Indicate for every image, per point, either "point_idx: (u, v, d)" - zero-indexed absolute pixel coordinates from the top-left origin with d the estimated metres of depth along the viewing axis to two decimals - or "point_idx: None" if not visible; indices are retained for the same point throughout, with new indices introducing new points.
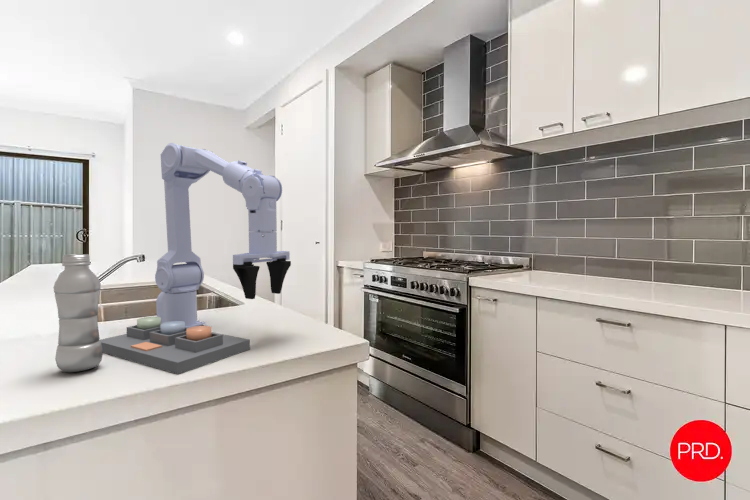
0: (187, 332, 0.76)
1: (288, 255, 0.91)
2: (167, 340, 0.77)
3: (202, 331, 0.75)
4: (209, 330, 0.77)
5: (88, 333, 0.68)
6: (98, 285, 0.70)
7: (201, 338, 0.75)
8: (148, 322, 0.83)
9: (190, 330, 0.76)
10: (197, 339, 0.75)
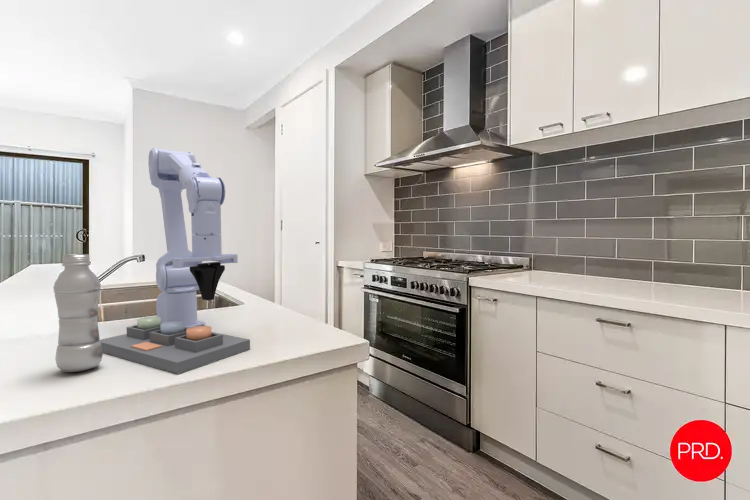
0: (187, 332, 0.76)
1: (236, 258, 0.90)
2: (167, 340, 0.77)
3: (202, 331, 0.75)
4: (209, 330, 0.77)
5: (88, 333, 0.68)
6: (98, 285, 0.70)
7: (201, 338, 0.75)
8: (148, 322, 0.83)
9: (190, 330, 0.76)
10: (197, 339, 0.75)
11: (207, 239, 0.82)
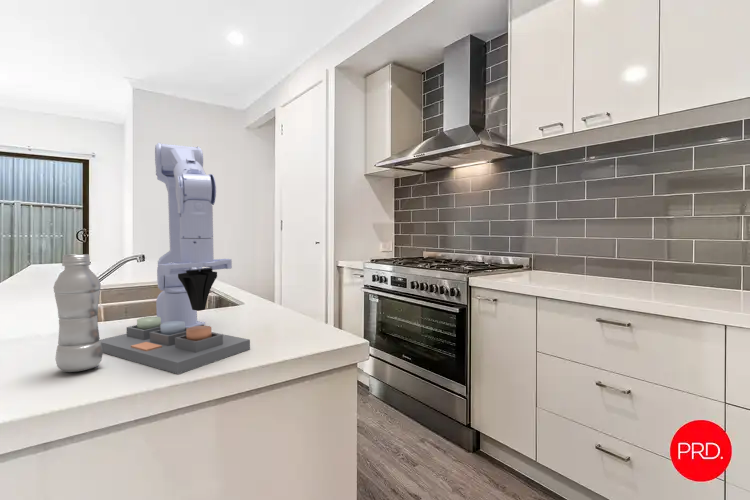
0: (187, 332, 0.76)
1: (230, 264, 0.82)
2: (167, 340, 0.77)
3: (202, 331, 0.75)
4: (209, 330, 0.77)
5: (88, 333, 0.68)
6: (98, 285, 0.70)
7: (201, 338, 0.75)
8: (148, 322, 0.83)
9: (190, 330, 0.76)
10: (197, 339, 0.75)
11: (197, 243, 0.74)
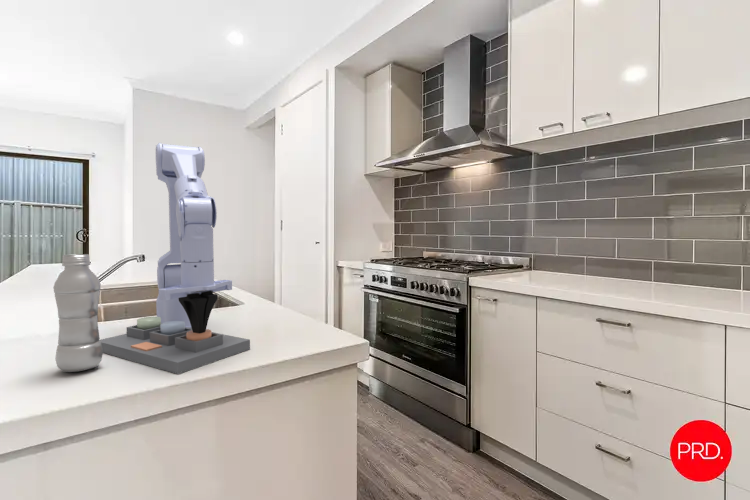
0: (187, 336, 0.76)
1: (230, 285, 0.82)
2: (167, 340, 0.77)
3: (202, 335, 0.76)
4: (209, 334, 0.77)
5: (88, 333, 0.68)
6: (98, 285, 0.70)
7: None
8: (148, 322, 0.83)
9: (190, 334, 0.76)
10: None
11: (198, 267, 0.74)
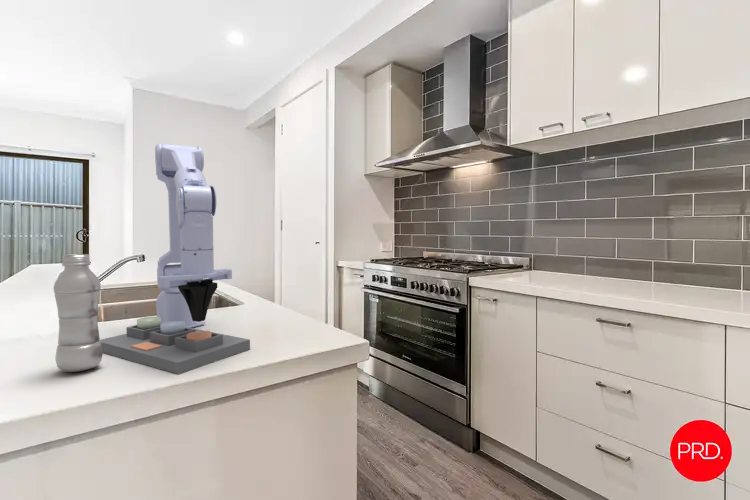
0: (187, 337, 0.76)
1: (230, 274, 0.82)
2: (167, 340, 0.77)
3: (202, 336, 0.76)
4: (209, 335, 0.77)
5: (88, 333, 0.68)
6: (98, 285, 0.70)
7: None
8: (148, 322, 0.83)
9: (190, 335, 0.76)
10: None
11: (197, 255, 0.74)
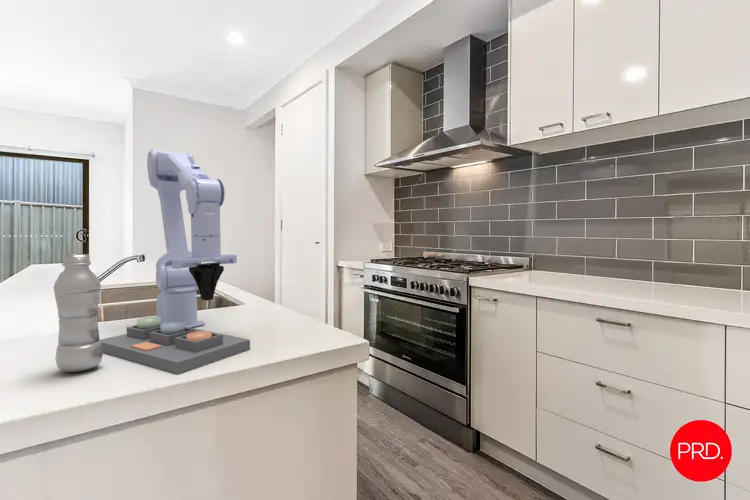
0: (187, 337, 0.76)
1: (235, 259, 0.91)
2: (167, 340, 0.77)
3: (202, 336, 0.76)
4: (209, 335, 0.77)
5: (88, 333, 0.68)
6: (98, 285, 0.70)
7: None
8: (148, 322, 0.83)
9: (190, 335, 0.76)
10: None
11: (206, 240, 0.83)
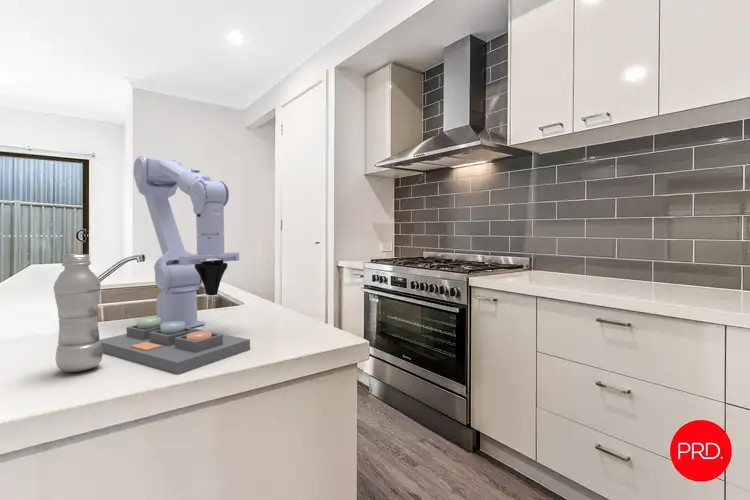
0: (187, 337, 0.76)
1: (237, 257, 0.96)
2: (167, 340, 0.77)
3: (202, 336, 0.76)
4: (209, 335, 0.77)
5: (88, 333, 0.68)
6: (98, 285, 0.70)
7: None
8: (148, 322, 0.83)
9: (190, 335, 0.76)
10: None
11: (211, 238, 0.88)
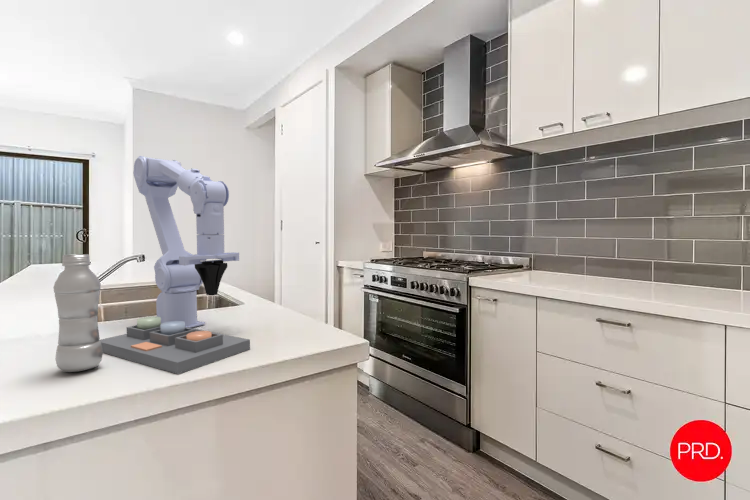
0: (187, 337, 0.76)
1: (237, 257, 0.96)
2: (167, 340, 0.77)
3: (202, 336, 0.76)
4: (209, 335, 0.77)
5: (88, 333, 0.68)
6: (98, 285, 0.70)
7: None
8: (148, 322, 0.83)
9: (190, 335, 0.76)
10: None
11: (211, 238, 0.88)
